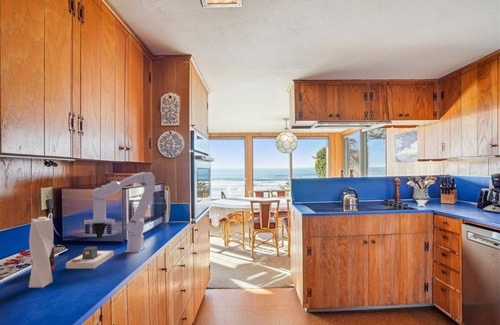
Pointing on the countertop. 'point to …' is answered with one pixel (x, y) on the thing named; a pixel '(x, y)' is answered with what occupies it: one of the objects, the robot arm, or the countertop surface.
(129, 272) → the countertop surface
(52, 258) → the canned food
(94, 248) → the plug
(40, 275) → the skyscraper
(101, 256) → the socket plate
